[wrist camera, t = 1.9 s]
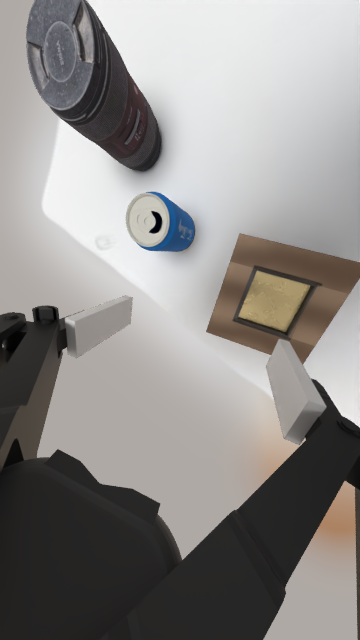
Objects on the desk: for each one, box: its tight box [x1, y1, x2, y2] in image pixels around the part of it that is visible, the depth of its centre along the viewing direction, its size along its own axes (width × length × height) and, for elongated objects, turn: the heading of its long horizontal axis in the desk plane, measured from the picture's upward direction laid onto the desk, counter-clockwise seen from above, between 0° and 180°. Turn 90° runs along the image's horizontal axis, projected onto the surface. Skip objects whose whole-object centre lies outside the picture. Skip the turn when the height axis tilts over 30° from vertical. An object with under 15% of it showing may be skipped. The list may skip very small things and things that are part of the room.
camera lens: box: [26, 0, 161, 171], centre depth 22 cm, size 8×8×15 cm
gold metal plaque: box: [238, 271, 311, 332], centre depth 26 cm, size 7×7×1 cm
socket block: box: [206, 234, 360, 365], centre depth 28 cm, size 15×15×6 cm
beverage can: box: [126, 192, 195, 252], centre depth 26 cm, size 6×6×12 cm
